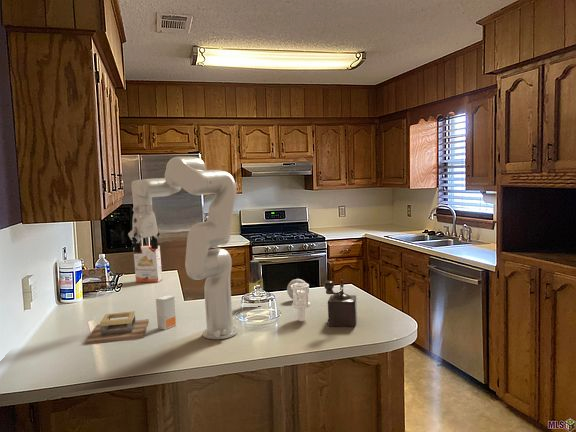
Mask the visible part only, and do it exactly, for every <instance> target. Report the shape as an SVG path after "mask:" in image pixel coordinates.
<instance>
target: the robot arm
mask: <svg viewBox="0 0 576 432" xmlns="http://www.w3.org/2000/svg"><path fill="white" fill-rule="evenodd" d="M165 168H166V169H165V172H164V177H158V178H157V177H156V178H144V179H137V180H133V181H132V182H131V194H132V204H133V207H132V211H133V214H132V229H131V230H130V231H129V232H128V234H127V236H128V237H129V240H130V241H131V243H132V244H133V248H134V250H133V253H134V252H135V253H141V246H142V245H141V243H140V241H141V240H142V239H145V238H150V246H151V249H158V246H159V244H158V242H159V241H158V240H159V237H160V235H161V234H160V233H161V228H160V227H158V223H157V218H156V214H155V212H154V211H153V200H152V199H153V198H160V197H161V198H162V197H168V196H171V195H174V194H176V193H179V192H180V191H181V190H182V189H183V190H184V191H185V192H187V193H188V194H190V195H193V196H203V195H204V196H205V195H215V196H214V197H213V199H212V201H211V202H210V204H209V208H208V215H207V220H206V221H200V222H196V223H194V224H193V225H192V226H191V227H190V229H189V230H188V233H187V238H186V250H185V260H184V261H185V262H184V264H185V265H184V266H185V271H186V275H187V276H188V277H189V278H190V279H192V280H195V281H199V280H204V279H205V282H204V287H203V289H204V306H205V320H206V329H205V330H204V331H203V332H202V337H204V338H206V340H207V339H208V340H223V339H224V340H225V339H229V338H232V337H234V336H235V335H237V334H238V328H237V327H235V326H234V321H233V320H234V319H233V306H232V304H233V303H232V291H231V289H232V288H231V273H232V272H231V271H232V267H233V266H232V262H233V260H232V257H231V254H230V252H229V251H228V250H226V249H225V248H221V247H223V246H225V245H228V243H229V242H230V239H231V233H232V224H233V215H234V214H233V213H234V206H235V203H236V197H237V183H236V180H235V179H234V177H233V176H232V174H230V173H229V172H227V171H225V170H220V169H206V164H205V162H204V161H203V160H202V159H201V158H200V157H196V156H175V157H172V158H170V159H169V161H168V162H167V163H166V167H165Z"/></svg>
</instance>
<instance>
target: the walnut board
mask: <svg viewBox="0 0 576 432" xmlns="http://www.w3.org/2000/svg"><path fill="white" fill-rule="evenodd" d="M135 320H136V324H135V327H134V329H133V331H132V332H129V333H119V334H110V335H101V326H100V323H99V324H97V325H95V327H94V328H93V330H92V332H91V333H90V334H89V336H88V337H87V339H86V340H85V344H86V345H91V343H92V344H99V343H108V342H118V341H124V340H134V339H142V338H144V337H145V334H146V331H147V329H148V326H149V323H150V320H149V318H147V319H135ZM119 328H128V327H127V326H118V327H110V328H109V329H119Z"/></svg>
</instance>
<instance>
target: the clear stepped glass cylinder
mask: <svg viewBox="0 0 576 432" xmlns="http://www.w3.org/2000/svg"><path fill="white" fill-rule="evenodd" d="M306 283H307V282H306ZM306 283H295V284H293V285H291V289H292V290H293V299H292V303H291V308H293V309H296V311H297V321H298V322H304V321H306V320H307V319H306V309H307V308H310V307H311V303H310V301H309V293H308V288H309V289H310V284H309V283H307V284H306ZM299 286H305V287H299ZM304 290H305V291H304Z"/></svg>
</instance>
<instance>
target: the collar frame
mask: <svg viewBox="0 0 576 432" xmlns="http://www.w3.org/2000/svg"><path fill="white" fill-rule="evenodd" d="M117 318H118V319H117ZM136 320H137V319H136V311H126V312H125V311H124V312H114V313H107V314H104V316H103V318H102V319H101V320H100V322H99V324H100V326H101V335H110V334H119V333H129V332H132V331H133V329H134V327H135V324H136ZM118 326H127V327H128V328H119V329H109V328H110V327H118Z"/></svg>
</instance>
